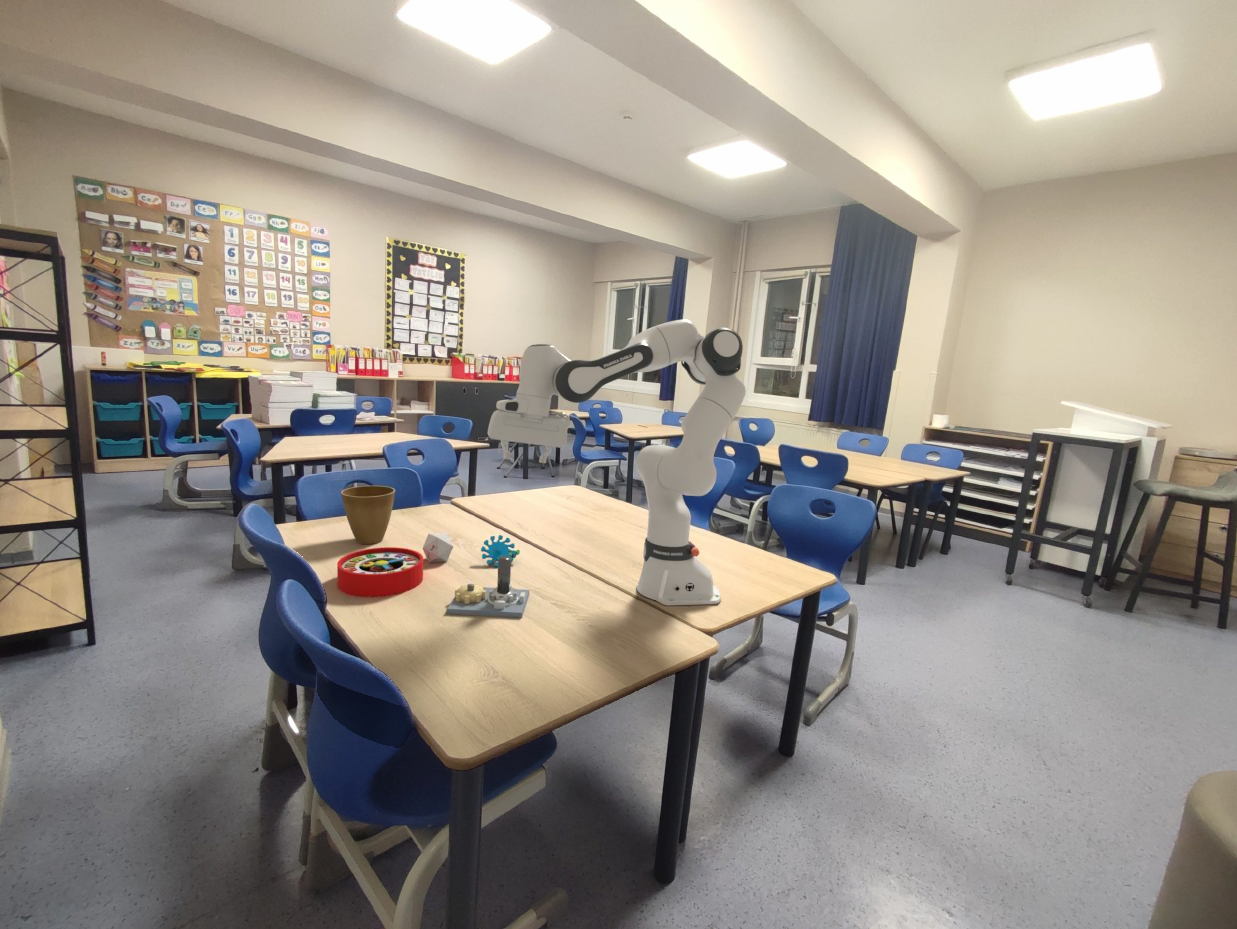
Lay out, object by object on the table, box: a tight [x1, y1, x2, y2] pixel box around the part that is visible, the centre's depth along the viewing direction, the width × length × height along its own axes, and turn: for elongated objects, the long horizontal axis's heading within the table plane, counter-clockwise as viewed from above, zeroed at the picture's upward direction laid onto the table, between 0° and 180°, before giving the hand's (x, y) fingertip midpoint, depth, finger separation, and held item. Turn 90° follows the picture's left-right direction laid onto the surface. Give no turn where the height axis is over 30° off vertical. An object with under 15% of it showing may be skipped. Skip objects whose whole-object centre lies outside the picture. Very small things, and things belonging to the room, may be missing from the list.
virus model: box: [480, 534, 521, 569], centre depth 154 cm, size 11×6×10 cm
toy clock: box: [336, 546, 424, 598], centre depth 135 cm, size 20×6×20 cm
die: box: [422, 532, 454, 563], centre depth 152 cm, size 8×9×10 cm
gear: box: [489, 556, 518, 603], centre depth 126 cm, size 7×7×10 cm
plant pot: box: [340, 485, 396, 545], centre depth 163 cm, size 15×15×16 cm
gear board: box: [446, 583, 531, 619], centre depth 127 cm, size 17×13×4 cm
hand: (524, 460), depth 136 cm, fingers open, 8 cm apart
